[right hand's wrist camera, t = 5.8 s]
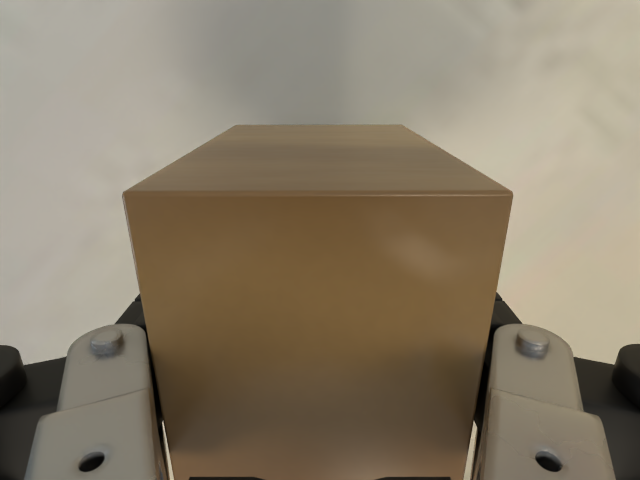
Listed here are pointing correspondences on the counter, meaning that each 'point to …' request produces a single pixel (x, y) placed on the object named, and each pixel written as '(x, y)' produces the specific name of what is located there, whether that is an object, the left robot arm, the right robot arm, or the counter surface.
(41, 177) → the counter surface
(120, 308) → the counter surface
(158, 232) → the bar
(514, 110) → the counter surface
